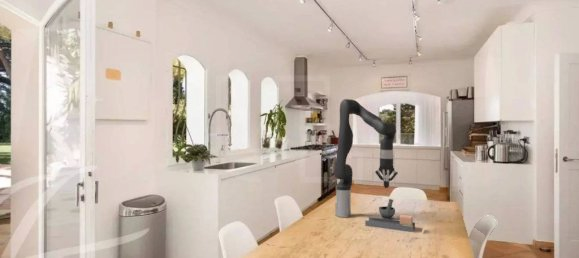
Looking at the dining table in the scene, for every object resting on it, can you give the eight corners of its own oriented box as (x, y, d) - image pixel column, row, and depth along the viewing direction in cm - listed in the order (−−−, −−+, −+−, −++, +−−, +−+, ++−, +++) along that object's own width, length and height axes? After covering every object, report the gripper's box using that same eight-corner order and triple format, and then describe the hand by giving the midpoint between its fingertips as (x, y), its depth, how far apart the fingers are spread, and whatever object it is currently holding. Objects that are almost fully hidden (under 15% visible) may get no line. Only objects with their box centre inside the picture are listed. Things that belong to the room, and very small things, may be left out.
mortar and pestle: (389, 222, 208) (389, 202, 208) (376, 219, 215) (376, 200, 215) (398, 218, 216) (398, 199, 215) (385, 215, 222) (385, 197, 222)
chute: (365, 227, 198) (365, 220, 198) (369, 223, 206) (369, 216, 206) (412, 233, 186) (412, 226, 186) (414, 229, 194) (415, 222, 194)
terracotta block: (399, 229, 191) (399, 216, 191) (401, 226, 196) (401, 214, 196) (411, 231, 188) (411, 218, 188) (412, 228, 193) (412, 215, 193)
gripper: (373, 157, 196) (373, 187, 196) (397, 158, 190) (397, 189, 190) (376, 156, 203) (376, 185, 203) (399, 157, 197) (399, 187, 197)
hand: (386, 187), depth 197 cm, fingers closed
